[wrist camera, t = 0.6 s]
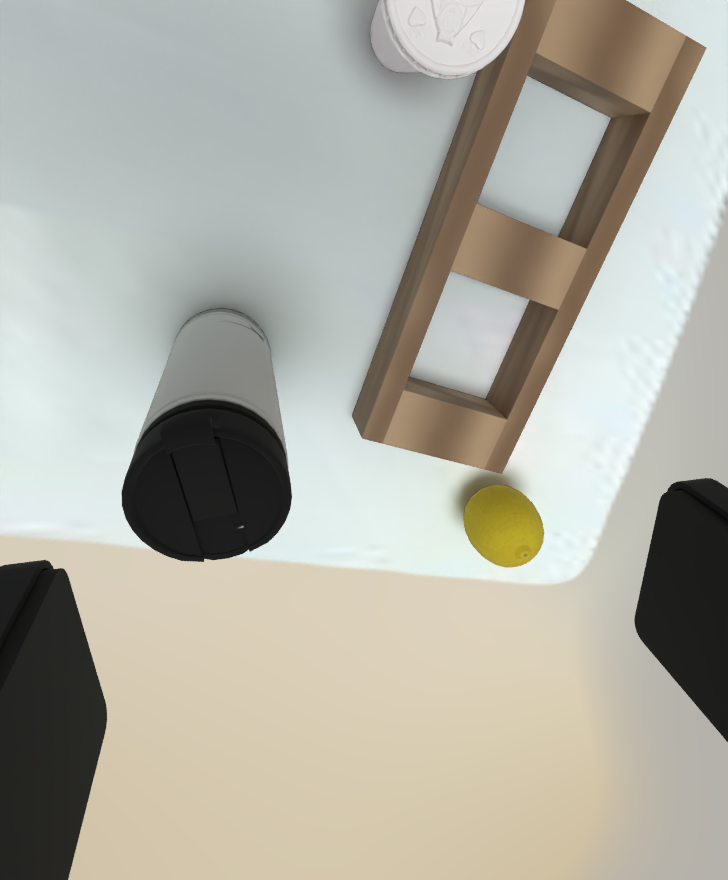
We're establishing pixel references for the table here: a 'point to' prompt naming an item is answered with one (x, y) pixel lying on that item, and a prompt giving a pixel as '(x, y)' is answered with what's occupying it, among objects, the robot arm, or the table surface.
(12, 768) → the robot arm
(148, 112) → the table surface
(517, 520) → the lemon
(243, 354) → the travel mug
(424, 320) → the wooden frame
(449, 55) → the smoothie
